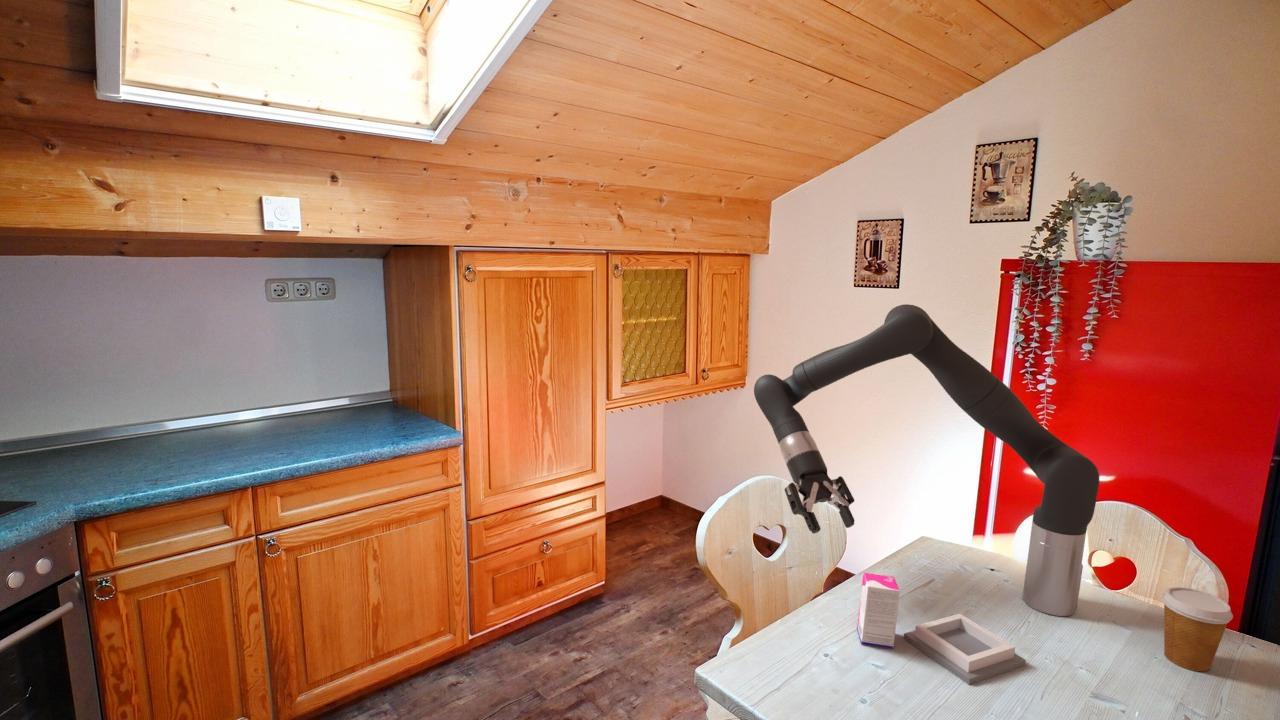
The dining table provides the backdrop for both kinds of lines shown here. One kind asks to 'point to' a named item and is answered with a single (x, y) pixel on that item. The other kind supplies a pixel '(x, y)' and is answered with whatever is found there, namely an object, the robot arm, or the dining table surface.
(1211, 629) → the disposable coffee cup
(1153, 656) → the dining table surface
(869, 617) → the supplement box
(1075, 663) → the dining table surface
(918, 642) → the socket
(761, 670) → the dining table surface
